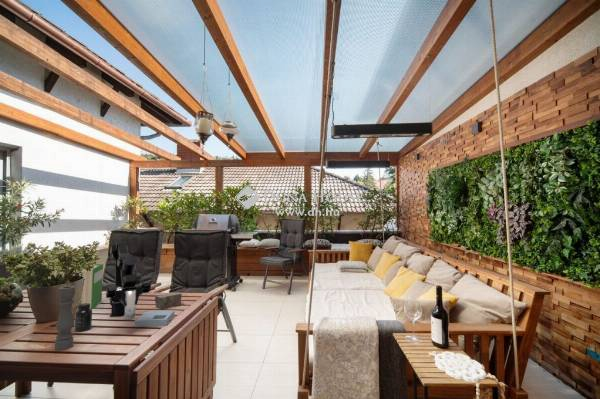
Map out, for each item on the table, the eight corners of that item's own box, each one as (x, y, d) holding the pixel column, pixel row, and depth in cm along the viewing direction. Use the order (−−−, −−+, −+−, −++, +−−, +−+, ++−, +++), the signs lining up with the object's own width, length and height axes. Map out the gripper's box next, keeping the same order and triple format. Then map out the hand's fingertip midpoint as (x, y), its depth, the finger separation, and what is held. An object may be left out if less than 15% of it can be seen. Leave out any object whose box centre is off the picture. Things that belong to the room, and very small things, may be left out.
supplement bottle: (94, 327, 148) (95, 303, 148) (80, 332, 141) (82, 307, 142) (85, 326, 150) (86, 301, 151) (70, 330, 144) (72, 305, 144)
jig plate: (134, 326, 149) (134, 320, 149) (145, 316, 164) (146, 311, 164) (165, 325, 151) (166, 319, 151) (174, 315, 166) (174, 310, 166)
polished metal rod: (122, 320, 139) (123, 292, 140) (126, 317, 144) (127, 289, 144) (132, 319, 140) (133, 291, 141) (136, 316, 144) (137, 289, 145)
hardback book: (92, 309, 177) (94, 268, 178) (78, 310, 174) (80, 269, 176) (101, 301, 193) (103, 264, 195) (88, 302, 191) (89, 264, 192)
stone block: (157, 311, 175) (158, 298, 175) (154, 307, 182) (154, 294, 182) (182, 306, 183) (183, 294, 183) (178, 303, 190) (179, 291, 191)
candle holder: (61, 344, 128) (64, 285, 130) (76, 344, 129) (79, 285, 130) (50, 351, 122) (53, 289, 124) (66, 350, 123) (69, 289, 124)
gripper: (107, 269, 140) (109, 298, 131) (151, 265, 152) (155, 292, 143) (105, 283, 146) (106, 312, 137) (147, 278, 158) (151, 305, 148)
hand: (130, 305), depth 141 cm, fingers closed on polished metal rod, 4 cm apart
